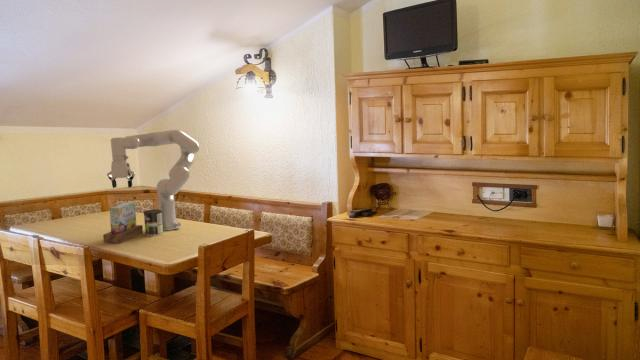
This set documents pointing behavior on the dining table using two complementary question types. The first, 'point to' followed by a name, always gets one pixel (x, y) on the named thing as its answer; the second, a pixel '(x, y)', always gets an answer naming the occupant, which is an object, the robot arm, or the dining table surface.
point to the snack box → (122, 217)
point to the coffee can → (153, 222)
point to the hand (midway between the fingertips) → (122, 187)
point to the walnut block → (123, 235)
